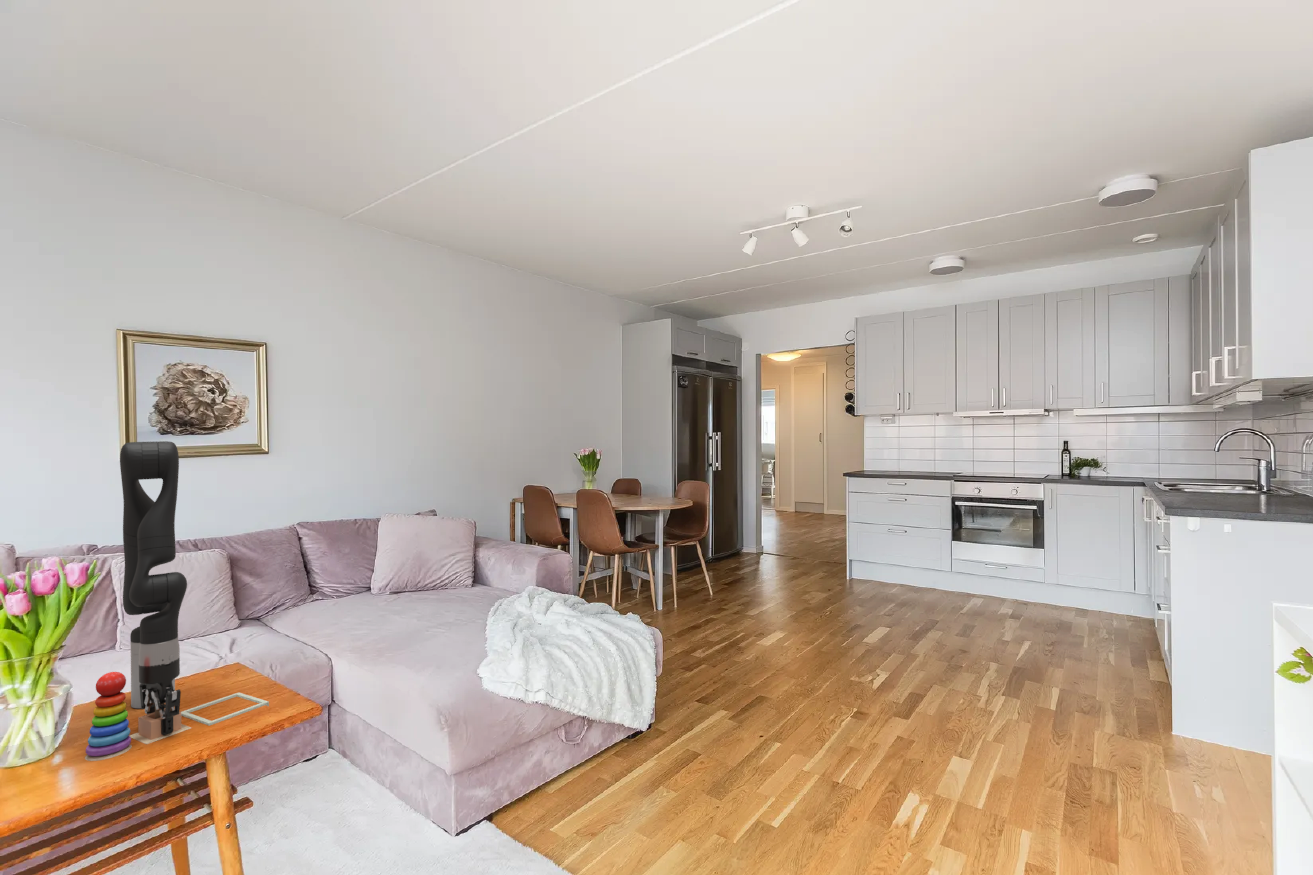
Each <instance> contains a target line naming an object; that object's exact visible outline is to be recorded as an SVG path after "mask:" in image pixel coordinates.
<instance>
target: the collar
mask: <svg viewBox="0 0 1313 875" xmlns="http://www.w3.org/2000/svg"><path fill="white" fill-rule="evenodd" d="M181 712H182V711H179V714H178V715H175V716H173V732H175V731H178V730H180V729H181V724H182V716H181ZM137 720H138V721H137V723H138V732H137V733H138V735H140V736H143V737H145V738H148V739H150V740H153V739H155V738H158V737H161V736H164V735H162V734H161V717H160V718H157V719H155V712H153V713H150V714H144V715H141V716H138V719H137Z"/></svg>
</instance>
